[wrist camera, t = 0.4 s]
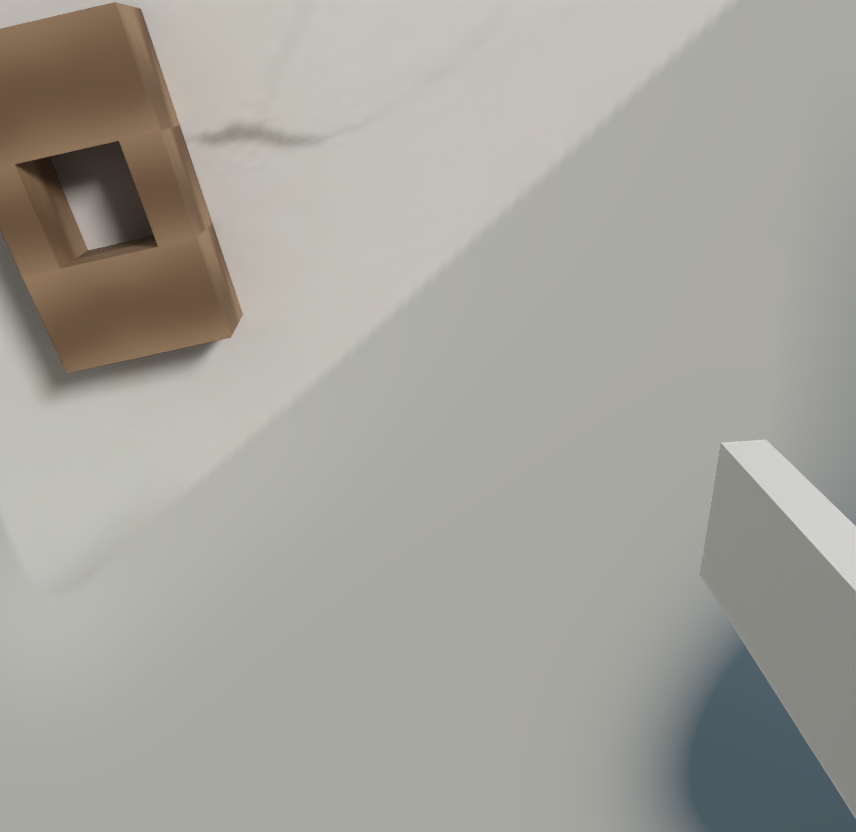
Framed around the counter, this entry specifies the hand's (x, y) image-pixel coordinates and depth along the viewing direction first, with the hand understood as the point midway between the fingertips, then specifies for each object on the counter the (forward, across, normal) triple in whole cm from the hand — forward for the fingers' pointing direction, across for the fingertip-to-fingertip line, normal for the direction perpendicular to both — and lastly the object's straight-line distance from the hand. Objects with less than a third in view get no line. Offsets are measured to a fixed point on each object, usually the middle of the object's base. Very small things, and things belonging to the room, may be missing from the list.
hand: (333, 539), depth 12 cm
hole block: (+26, -11, +2) cm, 29 cm away
